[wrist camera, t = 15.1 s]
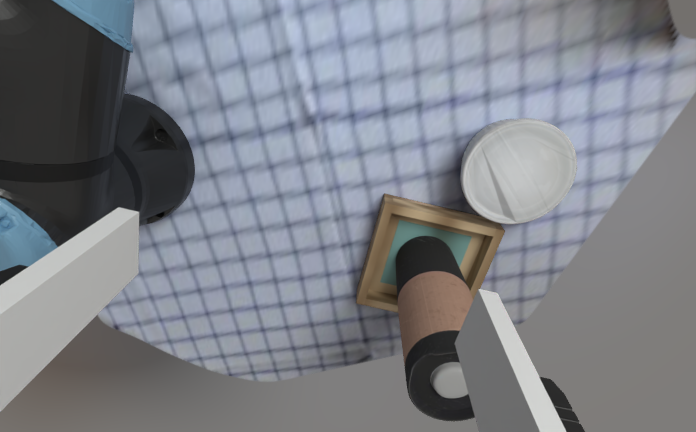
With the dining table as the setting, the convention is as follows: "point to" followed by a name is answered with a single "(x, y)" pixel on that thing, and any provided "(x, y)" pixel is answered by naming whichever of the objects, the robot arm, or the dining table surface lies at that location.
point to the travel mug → (433, 327)
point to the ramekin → (517, 170)
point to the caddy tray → (424, 220)
